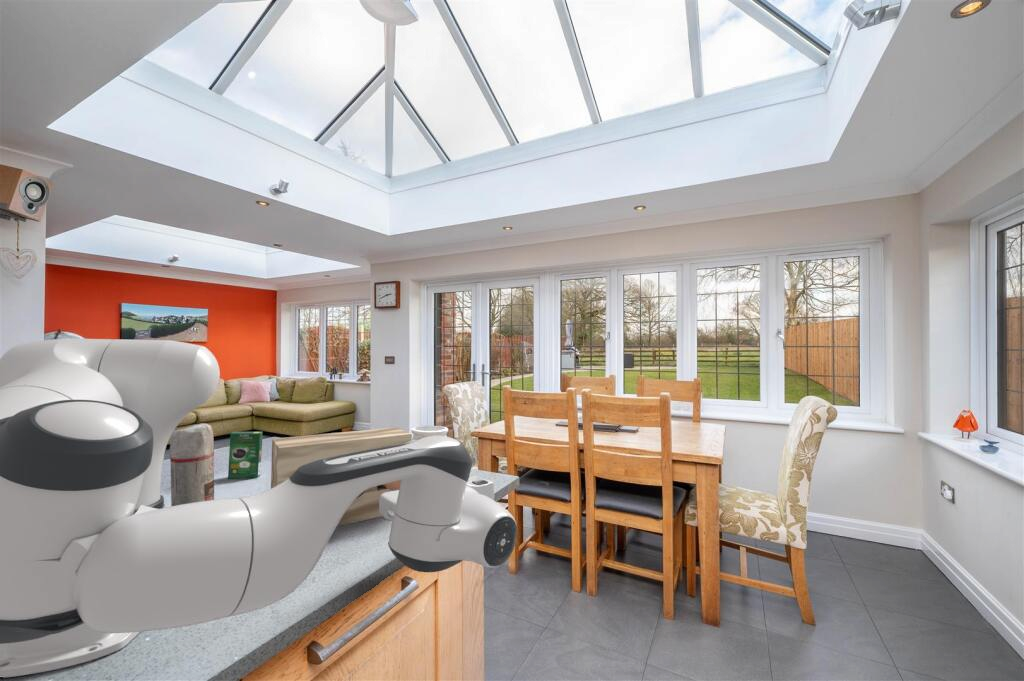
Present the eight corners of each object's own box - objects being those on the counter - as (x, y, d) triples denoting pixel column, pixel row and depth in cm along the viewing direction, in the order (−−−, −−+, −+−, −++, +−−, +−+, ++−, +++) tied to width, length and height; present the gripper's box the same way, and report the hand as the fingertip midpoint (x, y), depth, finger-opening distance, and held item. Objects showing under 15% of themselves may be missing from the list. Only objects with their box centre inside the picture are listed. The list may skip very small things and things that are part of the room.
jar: (454, 477, 128) (455, 427, 129) (433, 487, 119) (434, 433, 119) (424, 472, 133) (425, 423, 133) (402, 482, 123) (403, 429, 124)
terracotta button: (407, 489, 98) (407, 466, 98) (385, 493, 95) (385, 470, 95) (398, 483, 102) (399, 461, 102) (377, 486, 99) (378, 464, 99)
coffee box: (262, 475, 128) (263, 430, 128) (258, 478, 125) (260, 432, 125) (231, 476, 126) (233, 431, 126) (227, 479, 123) (228, 433, 123)
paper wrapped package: (190, 522, 93) (193, 429, 94) (159, 518, 95) (162, 427, 95) (223, 508, 102) (226, 422, 102) (194, 504, 103) (197, 420, 104)
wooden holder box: (410, 510, 102) (411, 433, 103) (276, 538, 86) (278, 447, 86) (394, 497, 110) (396, 427, 111) (269, 521, 94) (272, 438, 94)
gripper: (393, 540, 69) (367, 512, 80) (500, 513, 81) (464, 492, 92) (394, 500, 69) (368, 478, 81) (500, 480, 81) (464, 463, 92)
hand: (420, 485), depth 87 cm, fingers closed
